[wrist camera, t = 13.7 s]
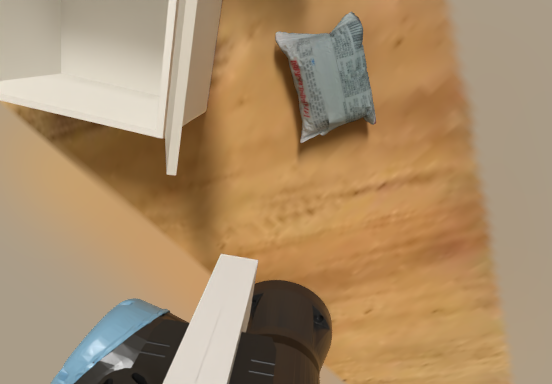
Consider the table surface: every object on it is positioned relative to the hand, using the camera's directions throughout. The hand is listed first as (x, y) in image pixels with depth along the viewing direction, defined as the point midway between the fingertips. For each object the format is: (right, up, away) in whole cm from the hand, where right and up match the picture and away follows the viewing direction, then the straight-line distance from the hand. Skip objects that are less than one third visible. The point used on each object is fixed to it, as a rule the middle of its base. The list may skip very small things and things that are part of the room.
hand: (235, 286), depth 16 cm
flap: (-5, +14, +10) cm, 18 cm away
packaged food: (+7, +17, +28) cm, 33 cm away
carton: (-14, +23, +27) cm, 38 cm away
